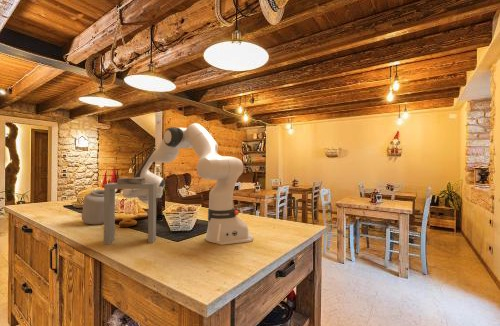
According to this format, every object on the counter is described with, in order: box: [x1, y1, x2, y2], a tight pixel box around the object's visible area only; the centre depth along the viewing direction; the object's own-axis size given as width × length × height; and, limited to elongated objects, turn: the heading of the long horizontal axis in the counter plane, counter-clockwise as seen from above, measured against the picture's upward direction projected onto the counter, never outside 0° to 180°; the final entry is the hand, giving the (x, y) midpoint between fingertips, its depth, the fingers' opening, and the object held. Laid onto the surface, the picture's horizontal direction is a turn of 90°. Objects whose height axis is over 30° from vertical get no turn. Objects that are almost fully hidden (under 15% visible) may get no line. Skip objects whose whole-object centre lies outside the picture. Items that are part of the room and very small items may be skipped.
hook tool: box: [116, 177, 145, 184], centre depth 117 cm, size 10×16×2 cm, turn 10°
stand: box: [103, 182, 157, 246], centre depth 112 cm, size 20×7×26 cm, turn 100°
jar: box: [81, 179, 104, 226], centre depth 143 cm, size 19×15×25 cm
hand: (141, 189), depth 131 cm, fingers open, 8 cm apart
